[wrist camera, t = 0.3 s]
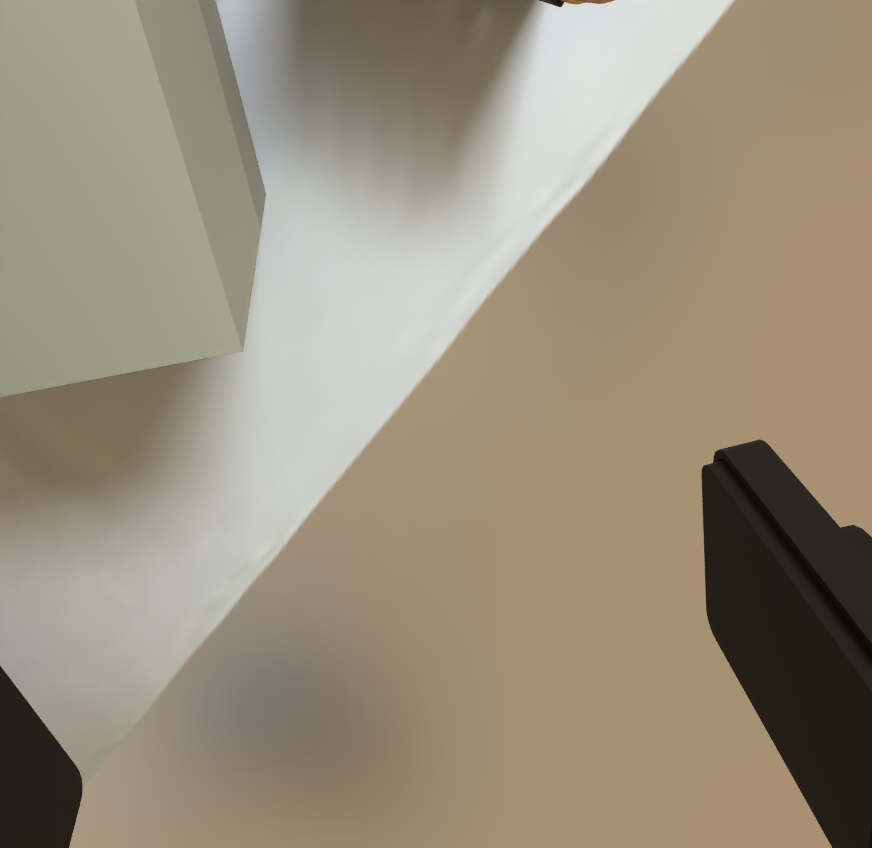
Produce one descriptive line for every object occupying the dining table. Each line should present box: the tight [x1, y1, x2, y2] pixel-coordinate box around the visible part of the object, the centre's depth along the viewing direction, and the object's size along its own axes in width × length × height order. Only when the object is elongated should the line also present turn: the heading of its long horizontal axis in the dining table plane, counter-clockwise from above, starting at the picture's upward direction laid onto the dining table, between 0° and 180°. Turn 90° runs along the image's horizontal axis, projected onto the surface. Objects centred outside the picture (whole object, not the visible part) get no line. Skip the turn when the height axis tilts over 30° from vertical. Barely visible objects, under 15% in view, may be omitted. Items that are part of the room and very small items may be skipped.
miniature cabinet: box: [0, 0, 266, 397], centre depth 26 cm, size 18×12×16 cm, turn 8°
